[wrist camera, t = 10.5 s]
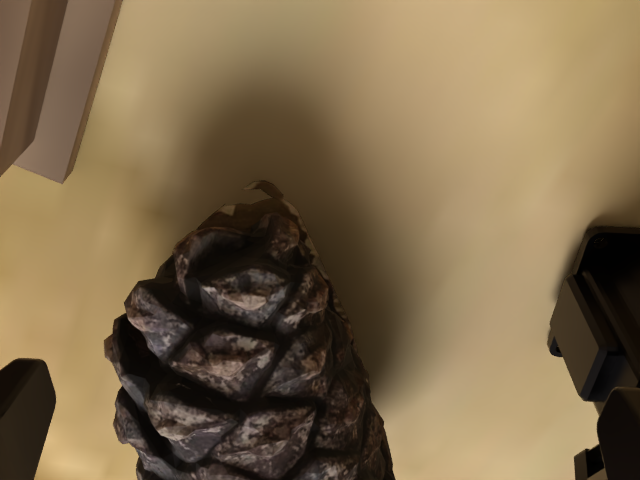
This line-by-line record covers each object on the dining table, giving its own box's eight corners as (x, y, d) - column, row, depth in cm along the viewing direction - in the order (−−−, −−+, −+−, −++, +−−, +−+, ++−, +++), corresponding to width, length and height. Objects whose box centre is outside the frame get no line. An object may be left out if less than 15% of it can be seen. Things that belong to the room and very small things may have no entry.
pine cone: (314, 140, 22) (297, 341, 13) (410, 447, 31) (435, 672, 23) (53, 204, 24) (-101, 415, 15) (221, 475, 33) (181, 693, 25)
